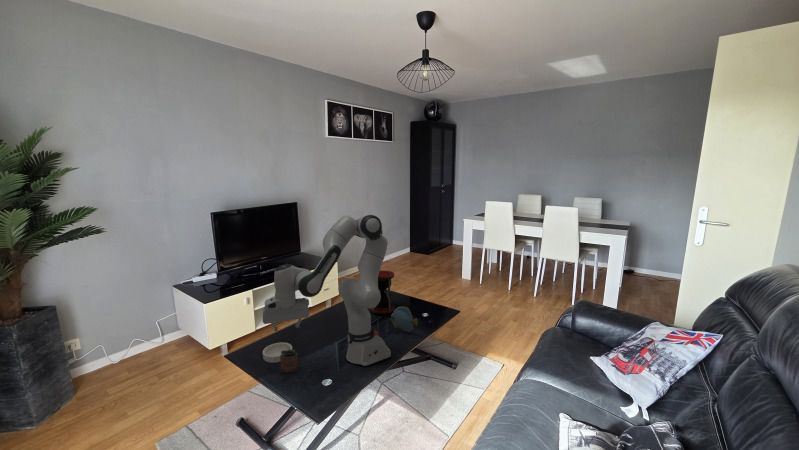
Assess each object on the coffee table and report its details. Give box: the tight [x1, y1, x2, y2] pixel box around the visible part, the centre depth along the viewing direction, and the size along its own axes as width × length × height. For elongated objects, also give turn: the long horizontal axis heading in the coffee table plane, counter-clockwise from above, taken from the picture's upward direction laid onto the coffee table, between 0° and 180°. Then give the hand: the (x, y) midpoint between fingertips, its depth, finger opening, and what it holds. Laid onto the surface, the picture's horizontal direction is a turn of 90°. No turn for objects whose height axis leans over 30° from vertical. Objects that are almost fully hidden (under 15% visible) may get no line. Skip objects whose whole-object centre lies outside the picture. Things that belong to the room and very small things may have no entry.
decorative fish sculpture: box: [389, 306, 418, 333], centre depth 195 cm, size 12×20×15 cm, turn 56°
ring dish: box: [262, 342, 293, 364], centre depth 170 cm, size 14×14×3 cm
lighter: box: [279, 349, 300, 373], centre depth 157 cm, size 8×3×10 cm, turn 100°
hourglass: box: [370, 269, 396, 315], centre depth 224 cm, size 16×16×25 cm
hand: (286, 328), depth 155 cm, fingers open, 8 cm apart
